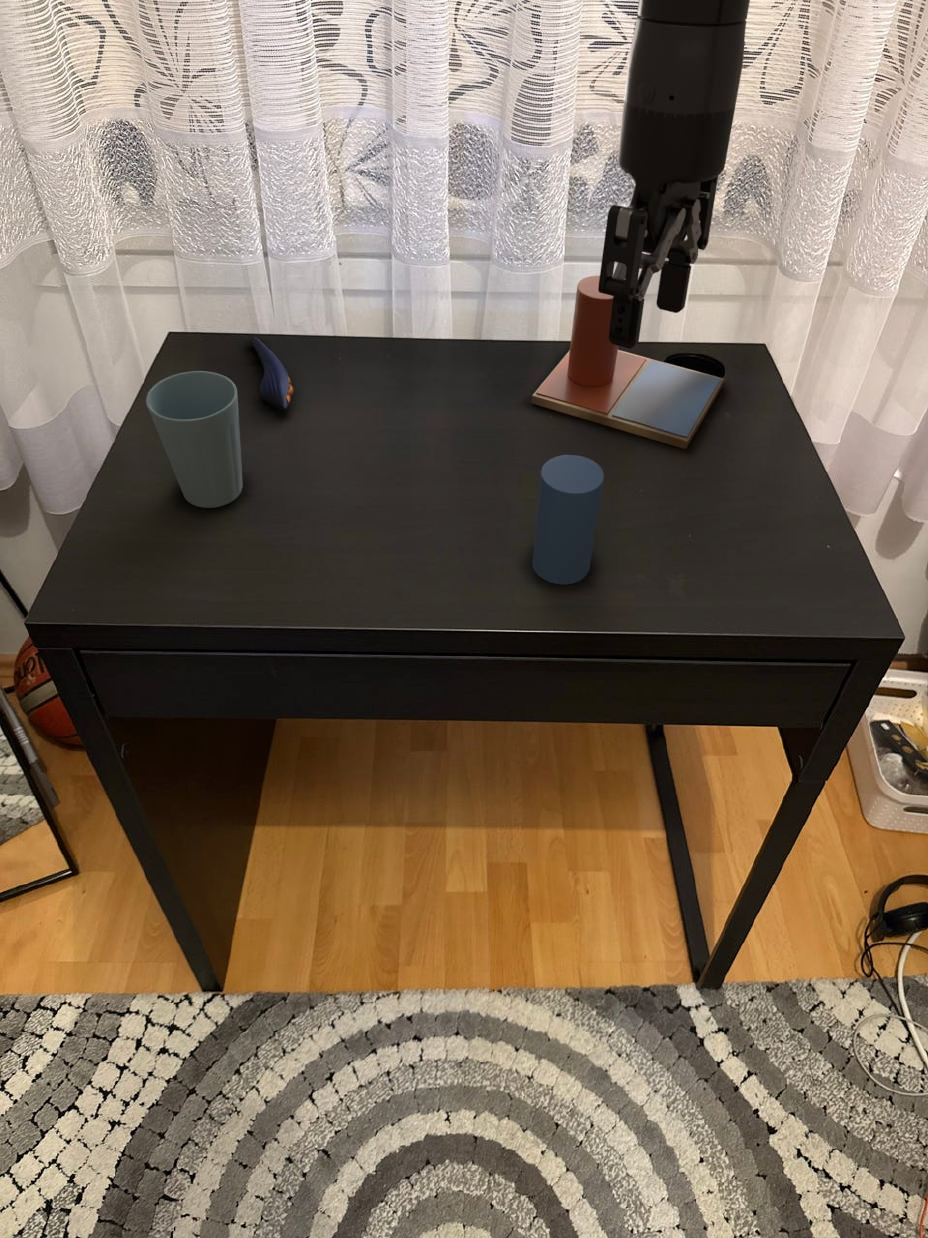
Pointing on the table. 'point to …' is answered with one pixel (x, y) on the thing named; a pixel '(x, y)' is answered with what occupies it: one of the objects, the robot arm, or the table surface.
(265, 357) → the tapered navy handle
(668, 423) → the board
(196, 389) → the cup
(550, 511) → the blue canister
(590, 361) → the rust canister
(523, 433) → the table surface
